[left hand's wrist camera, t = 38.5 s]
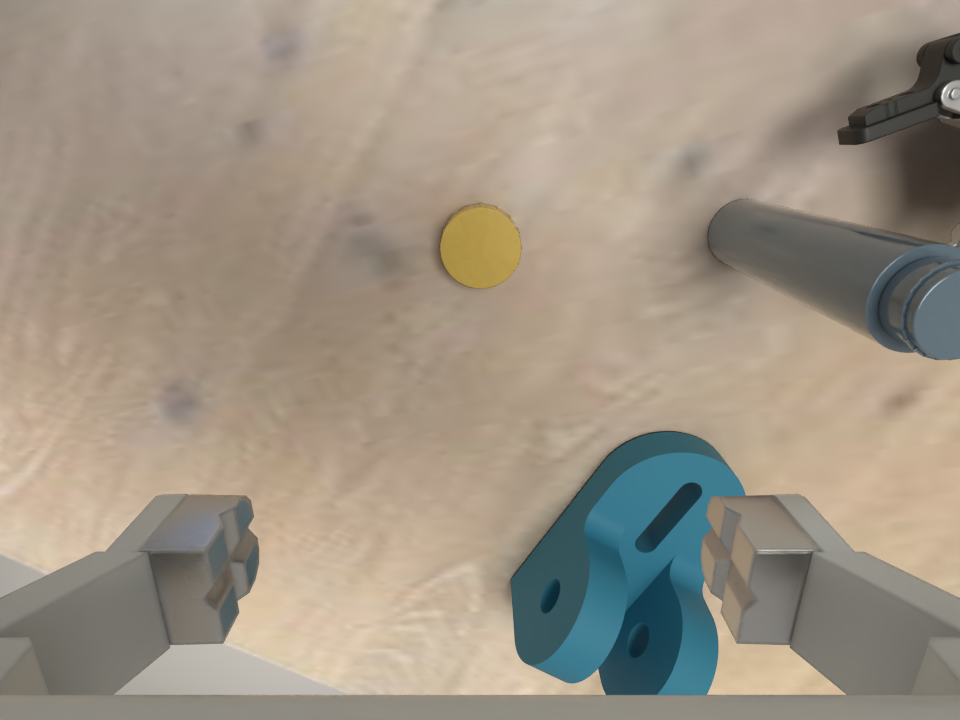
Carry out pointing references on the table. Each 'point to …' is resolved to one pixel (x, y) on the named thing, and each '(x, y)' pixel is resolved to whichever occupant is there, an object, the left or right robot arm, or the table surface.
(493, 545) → the table surface
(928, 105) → the right robot arm
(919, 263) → the grey long cylinder
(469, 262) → the lid
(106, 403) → the table surface
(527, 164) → the table surface
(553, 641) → the camera mount
